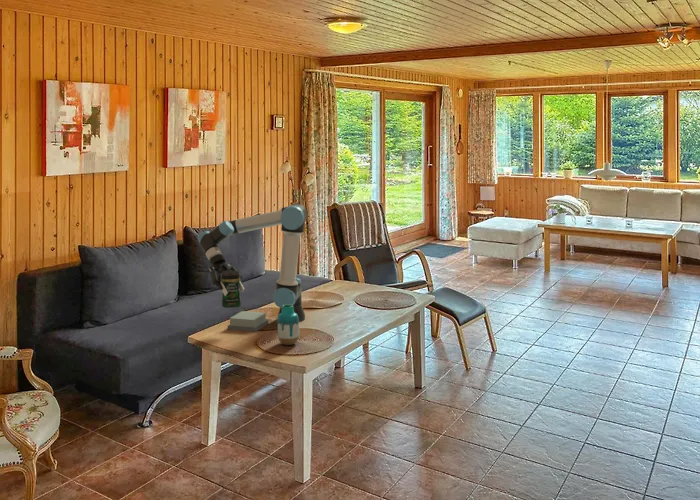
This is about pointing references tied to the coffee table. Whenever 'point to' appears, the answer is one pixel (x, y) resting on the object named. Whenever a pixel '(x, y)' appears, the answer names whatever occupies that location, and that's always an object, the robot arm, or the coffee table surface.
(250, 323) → the podium
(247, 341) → the coffee table surface
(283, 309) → the vase
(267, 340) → the coffee table surface
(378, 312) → the coffee table surface
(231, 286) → the coffee jar
